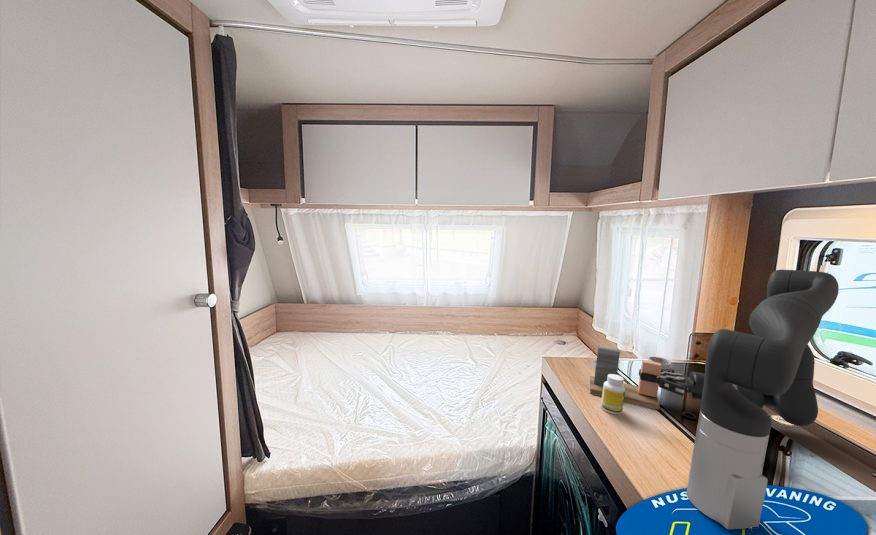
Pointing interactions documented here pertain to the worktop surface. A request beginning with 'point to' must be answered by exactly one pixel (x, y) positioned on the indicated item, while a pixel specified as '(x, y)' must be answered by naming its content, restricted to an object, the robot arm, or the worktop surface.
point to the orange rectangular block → (646, 386)
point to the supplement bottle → (613, 394)
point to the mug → (661, 362)
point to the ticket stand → (609, 365)
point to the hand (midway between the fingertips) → (640, 374)
